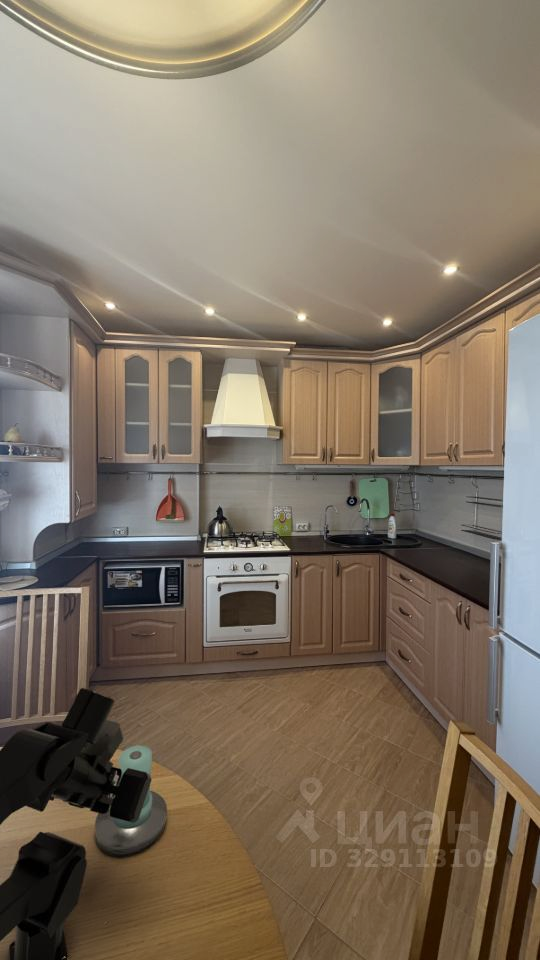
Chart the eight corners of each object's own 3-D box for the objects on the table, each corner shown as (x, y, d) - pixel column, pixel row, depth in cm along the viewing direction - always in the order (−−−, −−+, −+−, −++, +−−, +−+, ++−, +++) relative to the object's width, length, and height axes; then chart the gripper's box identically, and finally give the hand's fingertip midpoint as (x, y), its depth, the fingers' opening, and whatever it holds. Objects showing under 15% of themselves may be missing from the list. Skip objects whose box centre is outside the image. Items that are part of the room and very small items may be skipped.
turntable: (177, 828, 75) (177, 821, 75) (104, 864, 67) (105, 856, 67) (153, 785, 85) (153, 779, 85) (87, 812, 78) (88, 805, 78)
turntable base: (174, 835, 75) (175, 828, 75) (105, 869, 68) (106, 862, 68) (151, 793, 85) (152, 787, 85) (89, 819, 78) (89, 813, 78)
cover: (156, 818, 76) (159, 758, 76) (118, 835, 72) (122, 772, 72) (144, 794, 81) (147, 739, 82) (109, 809, 77) (112, 750, 78)
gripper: (148, 726, 63) (177, 751, 73) (49, 705, 67) (90, 732, 78) (114, 816, 55) (153, 830, 66) (6, 786, 60) (58, 804, 70)
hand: (112, 794), depth 70 cm, fingers closed
